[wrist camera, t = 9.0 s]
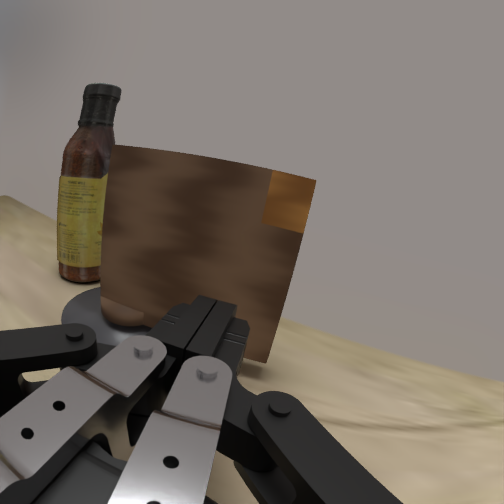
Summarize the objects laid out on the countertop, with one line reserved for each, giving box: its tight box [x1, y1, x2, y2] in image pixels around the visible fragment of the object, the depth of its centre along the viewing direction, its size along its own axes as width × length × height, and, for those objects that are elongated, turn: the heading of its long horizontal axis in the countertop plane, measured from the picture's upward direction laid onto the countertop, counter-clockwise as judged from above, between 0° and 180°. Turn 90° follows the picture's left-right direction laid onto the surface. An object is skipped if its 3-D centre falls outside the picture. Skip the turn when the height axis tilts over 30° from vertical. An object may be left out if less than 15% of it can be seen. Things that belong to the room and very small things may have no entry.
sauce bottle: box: [57, 83, 121, 282], centre depth 25 cm, size 6×6×20 cm
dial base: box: [61, 287, 152, 346], centre depth 21 cm, size 11×11×1 cm
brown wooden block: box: [100, 145, 316, 363], centre depth 18 cm, size 13×4×12 cm, turn 80°
